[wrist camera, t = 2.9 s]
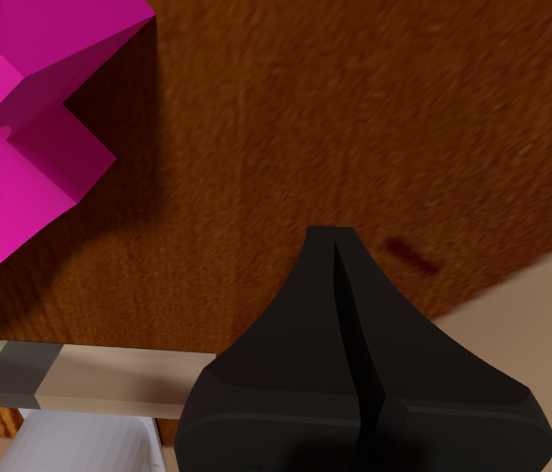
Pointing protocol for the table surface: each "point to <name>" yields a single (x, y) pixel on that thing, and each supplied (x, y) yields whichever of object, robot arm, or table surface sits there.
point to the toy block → (52, 105)
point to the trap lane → (97, 378)
